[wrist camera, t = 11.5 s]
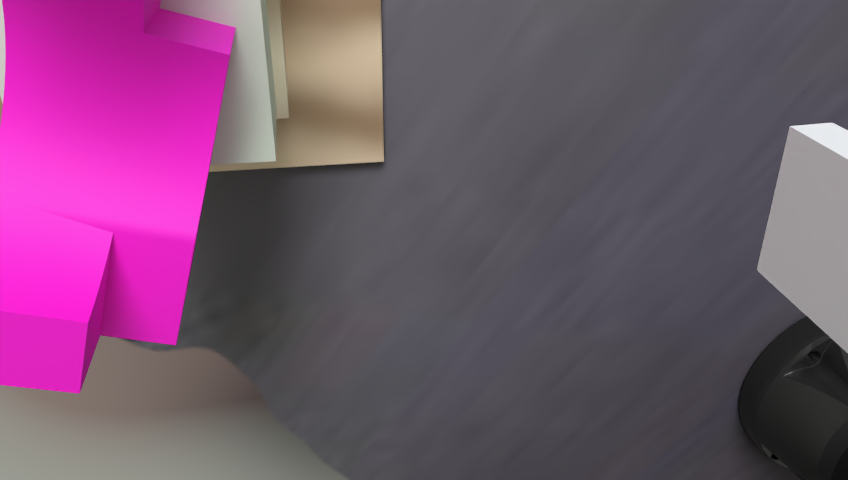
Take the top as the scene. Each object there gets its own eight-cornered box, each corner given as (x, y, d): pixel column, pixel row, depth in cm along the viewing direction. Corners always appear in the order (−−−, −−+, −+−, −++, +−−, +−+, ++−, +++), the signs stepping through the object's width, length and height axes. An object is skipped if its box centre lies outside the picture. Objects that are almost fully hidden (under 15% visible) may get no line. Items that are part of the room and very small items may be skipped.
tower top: (276, 108, 33) (276, 160, 28) (64, 119, 32) (23, 175, 26) (255, -113, 29) (250, -99, 23) (8, -112, 27) (-55, -98, 22)
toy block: (189, 277, 30) (164, 402, 23) (19, 251, 28) (-59, 378, 21) (262, -117, 23) (255, -96, 17) (48, -184, 21) (-51, -190, 15)
